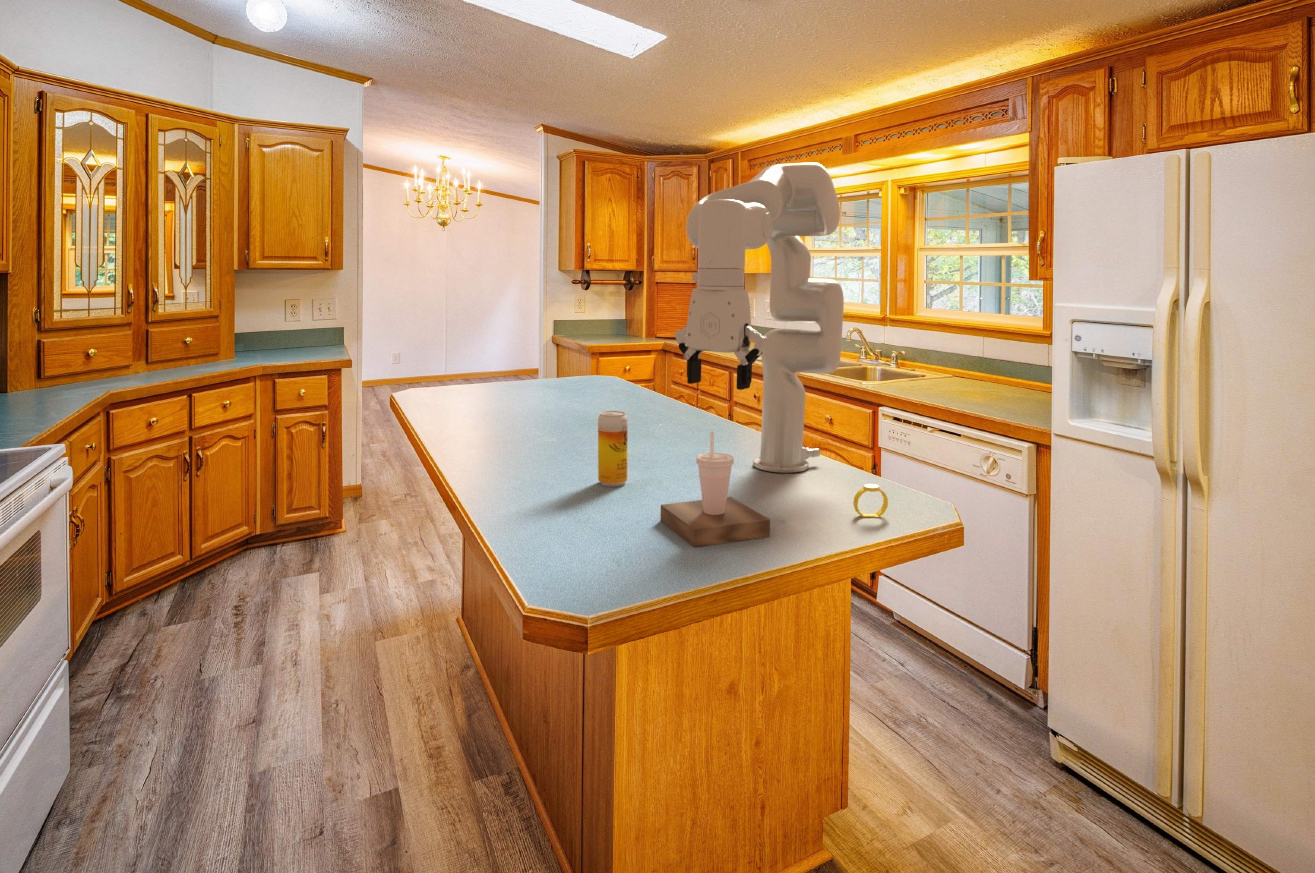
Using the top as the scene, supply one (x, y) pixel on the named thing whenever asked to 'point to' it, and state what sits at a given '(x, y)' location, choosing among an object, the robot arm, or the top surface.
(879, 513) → the watch
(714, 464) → the smoothie
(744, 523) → the walnut base
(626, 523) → the top surface
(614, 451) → the beer can
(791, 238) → the robot arm
